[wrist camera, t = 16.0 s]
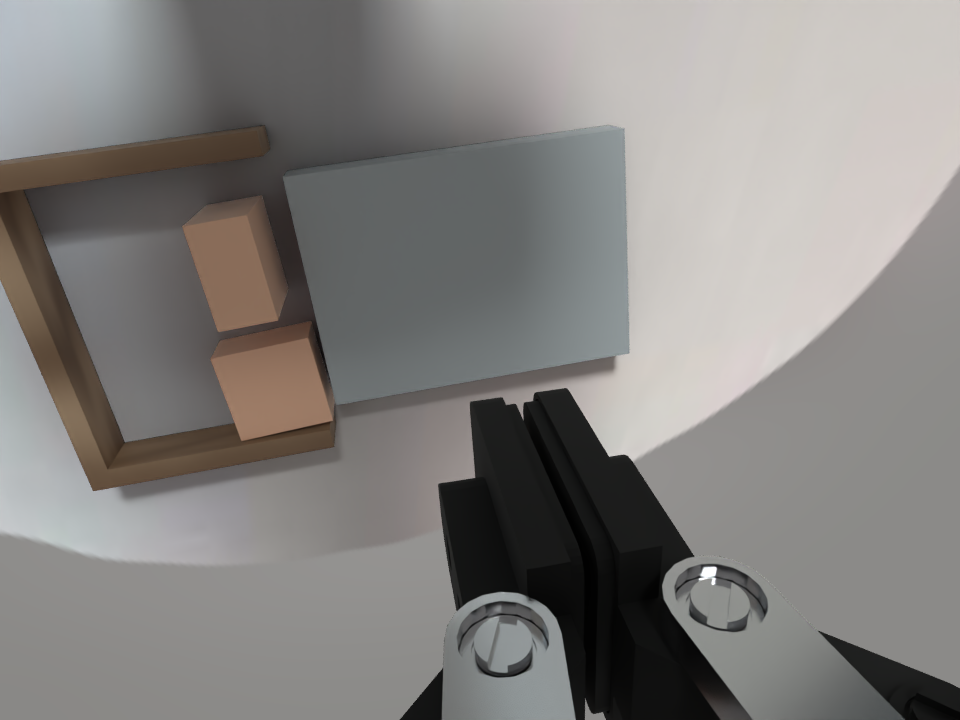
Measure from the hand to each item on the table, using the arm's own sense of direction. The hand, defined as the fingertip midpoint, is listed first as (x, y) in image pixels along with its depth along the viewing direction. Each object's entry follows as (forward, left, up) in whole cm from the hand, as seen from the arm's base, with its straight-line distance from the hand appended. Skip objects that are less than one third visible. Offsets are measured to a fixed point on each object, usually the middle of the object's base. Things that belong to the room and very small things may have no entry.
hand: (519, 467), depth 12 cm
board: (+3, +2, -22) cm, 22 cm away
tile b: (+7, -8, -22) cm, 25 cm away
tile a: (0, -7, -20) cm, 21 cm away
